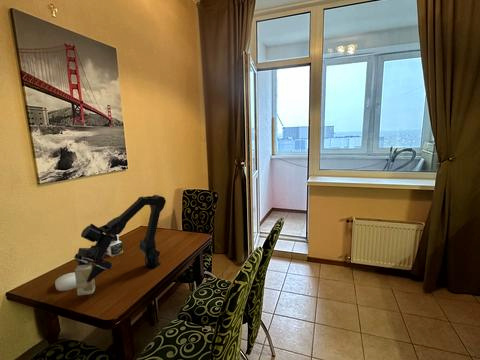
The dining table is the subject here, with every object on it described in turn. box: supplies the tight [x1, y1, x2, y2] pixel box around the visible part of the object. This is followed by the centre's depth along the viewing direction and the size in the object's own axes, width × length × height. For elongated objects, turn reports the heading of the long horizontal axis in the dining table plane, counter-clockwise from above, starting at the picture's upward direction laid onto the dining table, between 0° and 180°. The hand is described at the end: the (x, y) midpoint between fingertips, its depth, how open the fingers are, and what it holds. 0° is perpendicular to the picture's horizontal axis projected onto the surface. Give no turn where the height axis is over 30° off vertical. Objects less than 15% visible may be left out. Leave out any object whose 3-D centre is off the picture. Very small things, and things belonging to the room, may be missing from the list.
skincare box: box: [74, 263, 96, 296], centre depth 113 cm, size 6×4×12 cm
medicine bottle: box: [105, 234, 124, 257], centre depth 155 cm, size 7×7×12 cm
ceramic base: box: [54, 271, 77, 292], centre depth 124 cm, size 11×11×3 cm
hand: (82, 280), depth 112 cm, fingers closed on skincare box, 7 cm apart
